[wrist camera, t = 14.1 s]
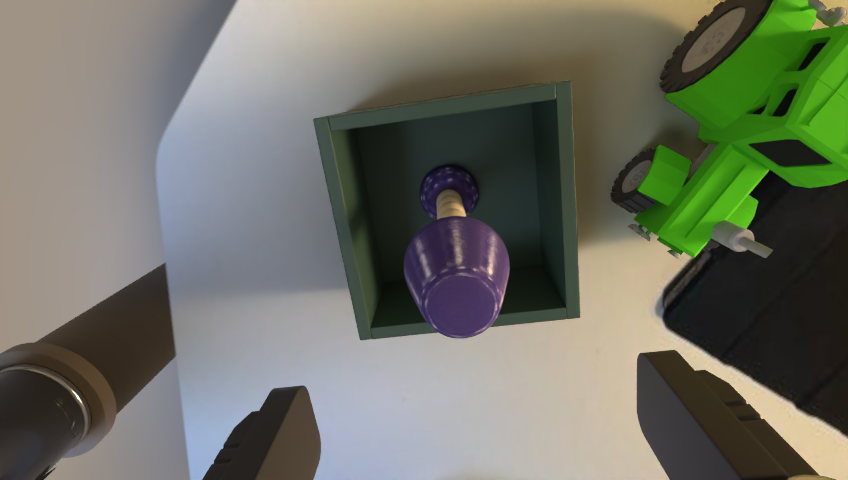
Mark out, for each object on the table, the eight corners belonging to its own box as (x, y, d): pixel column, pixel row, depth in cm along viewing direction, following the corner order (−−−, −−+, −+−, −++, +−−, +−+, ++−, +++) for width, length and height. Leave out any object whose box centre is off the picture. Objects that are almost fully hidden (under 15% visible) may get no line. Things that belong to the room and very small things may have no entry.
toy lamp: (497, 189, 32) (550, 287, 16) (460, 241, 33) (475, 380, 17) (440, 152, 31) (436, 216, 15) (405, 206, 32) (368, 318, 16)
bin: (377, 287, 35) (359, 340, 28) (344, 112, 31) (312, 119, 24) (550, 267, 34) (580, 318, 27) (539, 83, 30) (571, 80, 22)
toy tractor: (572, 191, 32) (625, 232, 23) (729, -30, 28) (880, -94, 18) (690, 263, 34) (787, 331, 24) (860, 65, 29) (1063, 53, 19)
